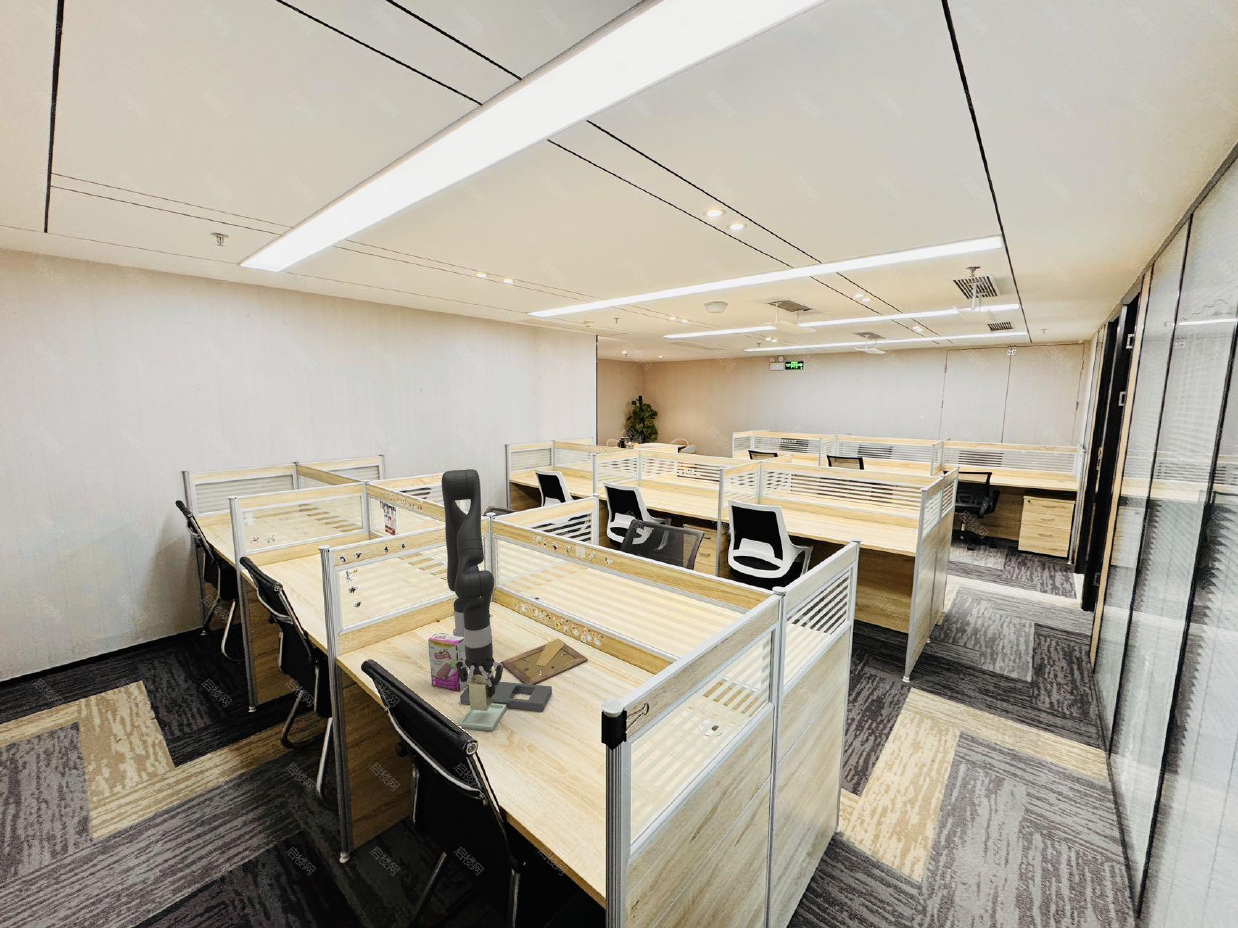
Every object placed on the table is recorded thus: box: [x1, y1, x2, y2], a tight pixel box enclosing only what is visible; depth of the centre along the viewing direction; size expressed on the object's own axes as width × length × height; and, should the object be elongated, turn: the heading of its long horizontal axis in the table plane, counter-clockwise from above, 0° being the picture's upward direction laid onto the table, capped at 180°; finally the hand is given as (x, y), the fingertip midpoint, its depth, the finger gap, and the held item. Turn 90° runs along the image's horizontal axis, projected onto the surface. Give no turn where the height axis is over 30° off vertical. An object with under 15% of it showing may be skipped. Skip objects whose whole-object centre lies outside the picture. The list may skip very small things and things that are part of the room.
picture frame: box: [501, 638, 589, 685], centre depth 175 cm, size 19×2×24 cm
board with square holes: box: [459, 681, 553, 713], centre depth 155 cm, size 26×9×2 cm, turn 80°
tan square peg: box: [469, 675, 494, 711], centre depth 145 cm, size 5×5×8 cm
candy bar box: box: [427, 632, 469, 692], centre depth 162 cm, size 11×5×16 cm, turn 71°
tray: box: [458, 703, 508, 733], centre depth 146 cm, size 10×10×2 cm
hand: (481, 695), depth 145 cm, fingers closed on tan square peg, 5 cm apart
